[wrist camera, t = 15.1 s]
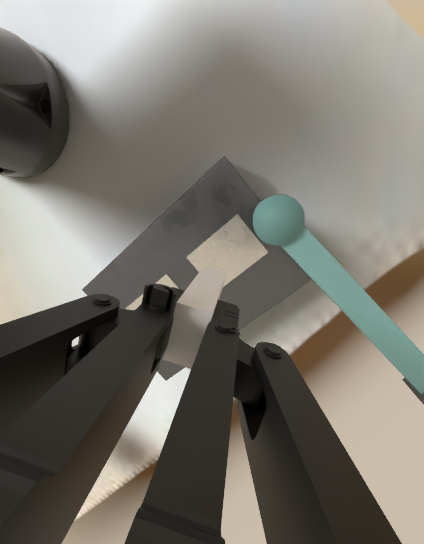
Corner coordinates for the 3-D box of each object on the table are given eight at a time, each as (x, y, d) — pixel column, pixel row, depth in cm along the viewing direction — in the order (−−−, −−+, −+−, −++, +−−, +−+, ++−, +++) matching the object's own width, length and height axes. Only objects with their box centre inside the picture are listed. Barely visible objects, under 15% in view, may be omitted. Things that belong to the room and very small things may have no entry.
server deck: (104, 278, 36) (66, 297, 29) (235, 156, 30) (230, 142, 23) (176, 358, 38) (158, 396, 30) (315, 258, 32) (335, 275, 24)
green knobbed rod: (243, 218, 24) (242, 220, 22) (277, 185, 23) (280, 183, 20) (411, 395, 26) (430, 417, 24) (450, 373, 25) (474, 393, 22)
